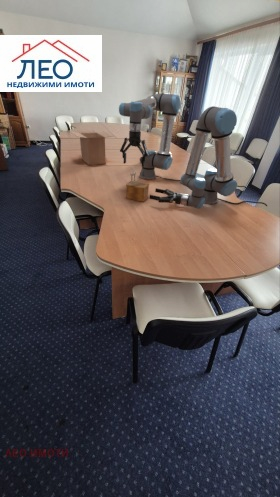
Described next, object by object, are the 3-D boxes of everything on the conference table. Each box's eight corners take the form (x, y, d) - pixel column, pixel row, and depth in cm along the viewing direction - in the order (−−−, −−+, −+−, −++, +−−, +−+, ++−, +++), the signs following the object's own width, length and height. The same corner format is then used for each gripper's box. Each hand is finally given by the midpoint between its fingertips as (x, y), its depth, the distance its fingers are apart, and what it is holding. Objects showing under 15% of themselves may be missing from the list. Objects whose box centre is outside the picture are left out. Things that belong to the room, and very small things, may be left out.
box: (116, 165, 229) (116, 136, 213) (83, 168, 214) (80, 137, 198) (102, 154, 259) (101, 128, 243) (71, 156, 244) (68, 129, 228)
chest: (126, 198, 165) (126, 186, 160) (131, 193, 173) (132, 181, 167) (143, 201, 162) (144, 189, 156) (147, 197, 169) (148, 185, 163)
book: (194, 177, 212) (195, 172, 209) (208, 182, 203) (210, 177, 200) (180, 182, 199) (181, 177, 196) (194, 188, 190) (196, 182, 187)
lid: (126, 185, 160) (126, 173, 155) (131, 181, 167) (131, 170, 162) (144, 189, 156) (145, 177, 151) (148, 185, 163) (149, 173, 158)
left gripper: (115, 128, 142) (115, 162, 154) (151, 133, 135) (148, 168, 148) (120, 127, 148) (119, 160, 160) (155, 132, 141) (152, 166, 154)
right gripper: (176, 211, 146) (146, 204, 151) (184, 197, 165) (157, 192, 171) (178, 200, 142) (147, 194, 147) (186, 188, 161) (158, 182, 166)
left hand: (133, 164), depth 154 cm, fingers open, 13 cm apart
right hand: (152, 193), depth 159 cm, fingers open, 13 cm apart
